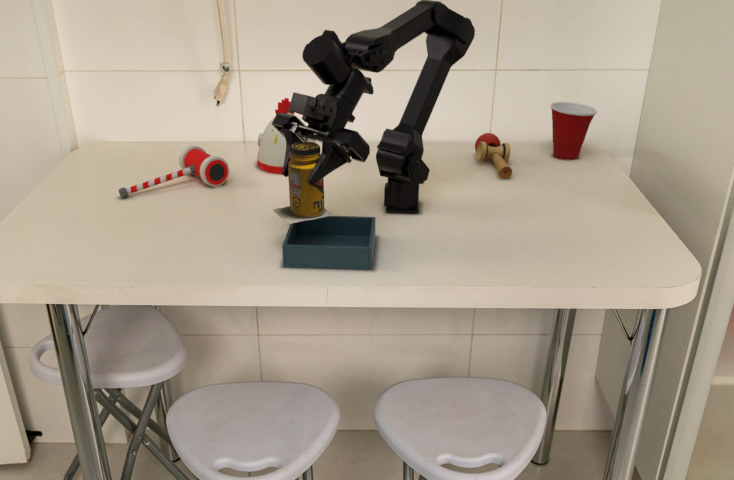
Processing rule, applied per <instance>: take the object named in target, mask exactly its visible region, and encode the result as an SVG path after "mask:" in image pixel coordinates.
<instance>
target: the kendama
mask: <svg viewBox="0 0 734 480" xmlns="http://www.w3.org/2000/svg"><path fill="white" fill-rule="evenodd" d="M474 149H475V157H476V160H477V161H478V162H484V161H485V160H492V162H493V164H494V166H495V168H496V170H497V172H498V176H499V177H500V178H501V179H503V180H506V179H509V178H510V177H512V174H513V169H512V167H511V166H510V165H509V163H508V162H509V160H510V158H511V145H510V143H508V142H502V143H501V140H500V139H499V137H498V136H497V135H496V134H494V133H491V132H485V133H482V134H480V135H479V136H478V137H477V139H476V140H475V143H474Z"/></svg>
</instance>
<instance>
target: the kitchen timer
mask: <svg viewBox="0 0 734 480" xmlns="http://www.w3.org/2000/svg"><path fill="white" fill-rule="evenodd" d="M290 103H291V101H290V99H289V98H288V97H284V99H281V102H277V109H274V111H275V116H274V117H273V118H272V119H270V121H269V122H268V124H267V125H266V126H265V129H264V130H263V133H259V134H258V136H257V137H258V138H257V146H258V151H257V167H258V169H260V170H261V171H263V172H266V173H270V174H277V175H283V174H282V171H283V165H284V159H285V153H286V139H285V137H284V136H283V135H282V134H281V133H280V132H279V131H278V130H277V129H276V128H275V127H274V126H273V125H272V122H273V120H274V118H275V117H276V115H277V114H279V113H286V114H290V115H294V116H296V117H297V118H298V119H299V120H300V121H301V122H302V123H303V124H304V125H305V126H307V125H306V124H305V122H304V121H303V120H302V119H301V118H300V117H298V116H297V115H295V112H293V113H292V112H289V107H290ZM306 142H313V143H316V140H312V139H308V140H307V141H306Z"/></svg>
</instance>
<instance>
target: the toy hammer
mask: <svg viewBox="0 0 734 480" xmlns="http://www.w3.org/2000/svg"><path fill="white" fill-rule="evenodd" d="M178 163H179V167H180V168H181V169H178V170H177V171H173V172H170V173H168V174H165V175H161V176H159V177H155V178H153V179H150V180H147V181H143V182H141V183H137V184H134V185H132V186H129V187H121V188H119V189H118V194H119V196H120V198H121V199H124V198H127V197H129V195H131V194H134V193H137V192H140V191H143V190H146V189H150V188H152V187H156V186H159V185H161V184H163V183H167V182H169V181H173V180H175V179H179V178H182V177H184V176H187V175H191V176H197V177H198V178H201V179H200V180H201V181H203V183H205V185H208V186H211V187H212V188H214V187H220V186H222V185H224V183H226V181H228V178H229V175H230V166H229V163H228V162H227V161H226V160H225V158H222V157H220V156H218V155H211V154H209V153H207V151H206V150H205V149H204V148H202V147H200V146H198V145H195V144H190V145H187V146H186V147H184V148H183V149H182V151H180V154H179V156H178Z"/></svg>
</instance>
